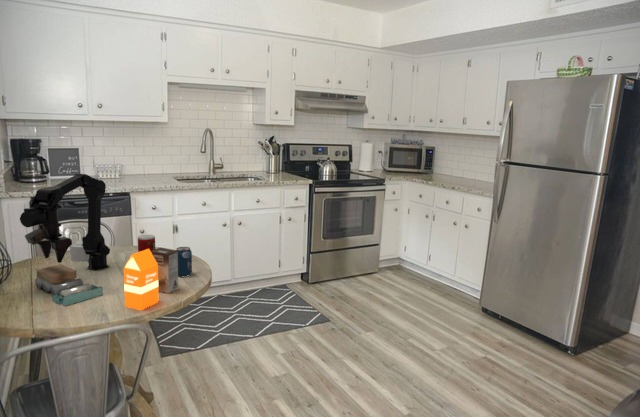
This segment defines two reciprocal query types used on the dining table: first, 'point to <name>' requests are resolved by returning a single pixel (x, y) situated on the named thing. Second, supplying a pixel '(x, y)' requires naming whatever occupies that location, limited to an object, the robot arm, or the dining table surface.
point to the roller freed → (75, 290)
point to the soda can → (184, 261)
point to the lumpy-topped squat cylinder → (78, 252)
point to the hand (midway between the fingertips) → (53, 260)
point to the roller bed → (68, 284)
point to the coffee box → (166, 269)
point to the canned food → (146, 242)
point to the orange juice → (141, 280)
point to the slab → (56, 274)
